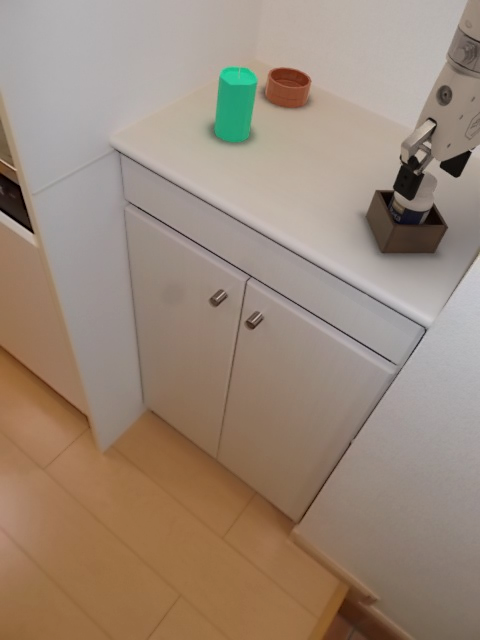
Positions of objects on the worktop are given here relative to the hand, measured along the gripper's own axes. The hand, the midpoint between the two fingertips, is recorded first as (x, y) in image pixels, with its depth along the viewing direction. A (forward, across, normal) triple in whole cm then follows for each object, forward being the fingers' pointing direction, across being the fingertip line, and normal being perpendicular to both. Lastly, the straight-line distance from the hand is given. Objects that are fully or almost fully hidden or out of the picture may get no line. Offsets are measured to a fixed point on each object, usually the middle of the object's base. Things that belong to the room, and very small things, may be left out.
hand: (426, 183), depth 70 cm
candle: (+9, -7, +33) cm, 35 cm away
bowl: (+10, +10, +39) cm, 41 cm away
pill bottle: (+9, -1, 0) cm, 9 cm away
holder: (+10, -1, 0) cm, 10 cm away
